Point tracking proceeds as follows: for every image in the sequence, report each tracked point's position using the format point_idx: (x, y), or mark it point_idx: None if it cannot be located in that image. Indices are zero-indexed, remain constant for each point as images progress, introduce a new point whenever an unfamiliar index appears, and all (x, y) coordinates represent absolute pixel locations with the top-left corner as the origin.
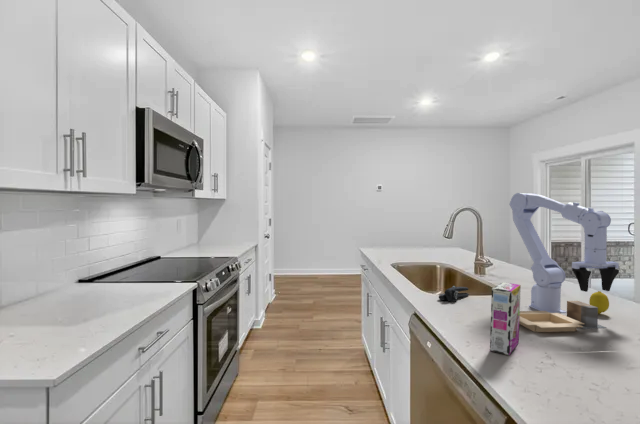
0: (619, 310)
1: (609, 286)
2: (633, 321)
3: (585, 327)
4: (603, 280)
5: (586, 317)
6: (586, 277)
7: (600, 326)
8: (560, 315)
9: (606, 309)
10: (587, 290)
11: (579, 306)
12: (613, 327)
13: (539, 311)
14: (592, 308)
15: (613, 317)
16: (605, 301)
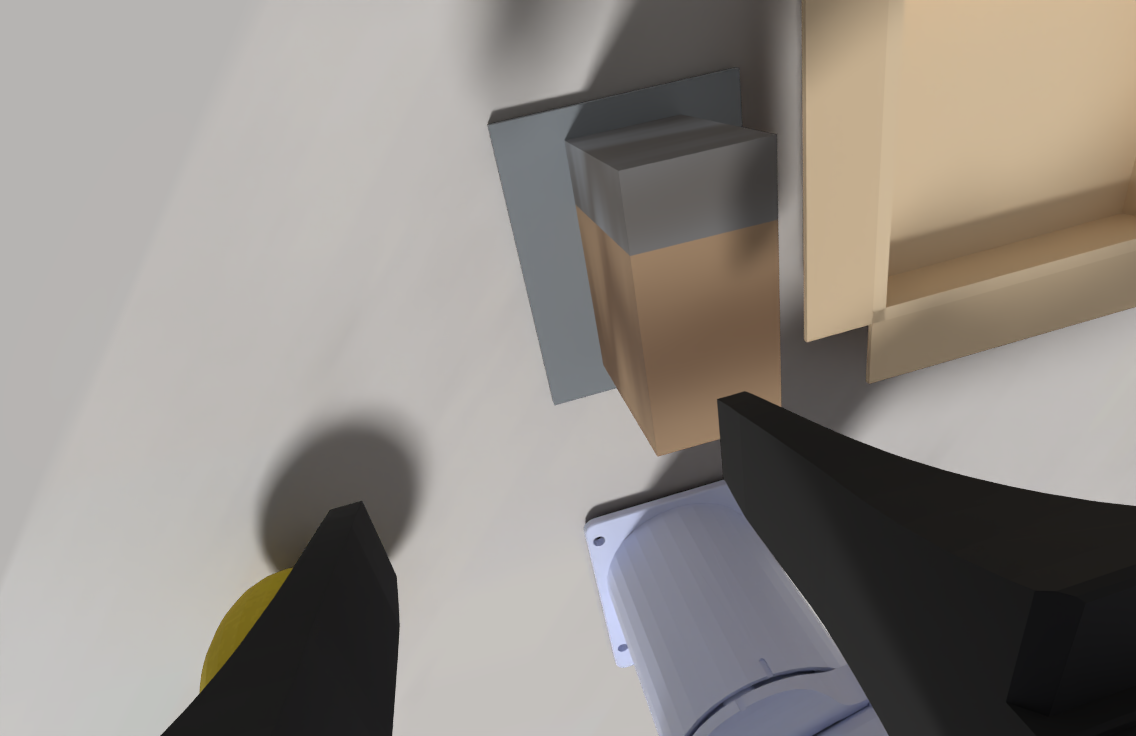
0: (73, 717)
1: (333, 548)
2: (78, 432)
3: (693, 98)
4: (377, 718)
5: (715, 125)
6: (962, 494)
7: (528, 155)
8: (842, 256)
9: (259, 582)
10: (727, 403)
11: (770, 243)
12: (386, 191)
13: (933, 349)
14: (687, 154)
15: (226, 510)
16: None
